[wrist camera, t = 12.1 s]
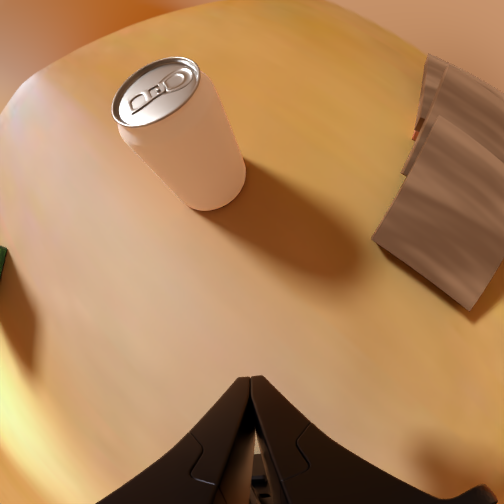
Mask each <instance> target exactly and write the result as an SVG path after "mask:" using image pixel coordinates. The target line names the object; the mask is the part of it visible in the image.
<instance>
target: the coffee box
mask: <svg viewBox="0 0 504 504" xmlns="http://www.w3.org/2000/svg"><path fill="white" fill-rule="evenodd" d="M6 251H7V248H5V247H2V246H0V277H1V272H2V268H3V265H4V261H5V255H6Z"/></svg>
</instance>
